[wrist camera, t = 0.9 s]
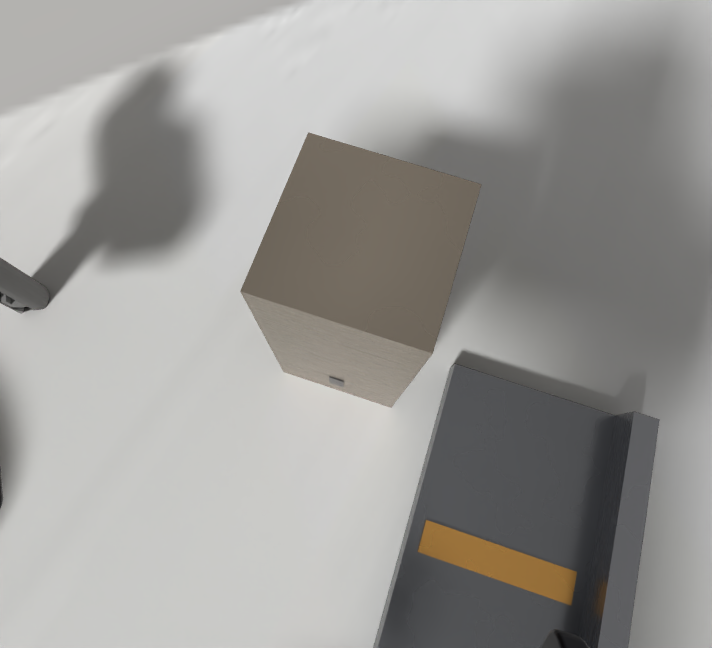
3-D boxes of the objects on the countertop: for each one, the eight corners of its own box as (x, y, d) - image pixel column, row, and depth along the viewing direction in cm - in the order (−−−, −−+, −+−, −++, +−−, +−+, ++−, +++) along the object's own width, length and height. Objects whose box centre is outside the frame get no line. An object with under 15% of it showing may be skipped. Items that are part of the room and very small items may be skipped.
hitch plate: (565, 804, 18) (599, 853, 15) (352, 724, 18) (354, 760, 16) (625, 425, 22) (659, 419, 19) (450, 368, 22) (462, 356, 20)
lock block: (391, 408, 22) (432, 355, 12) (283, 372, 22) (239, 293, 12) (422, 304, 23) (481, 182, 13) (321, 272, 23) (309, 131, 14)
